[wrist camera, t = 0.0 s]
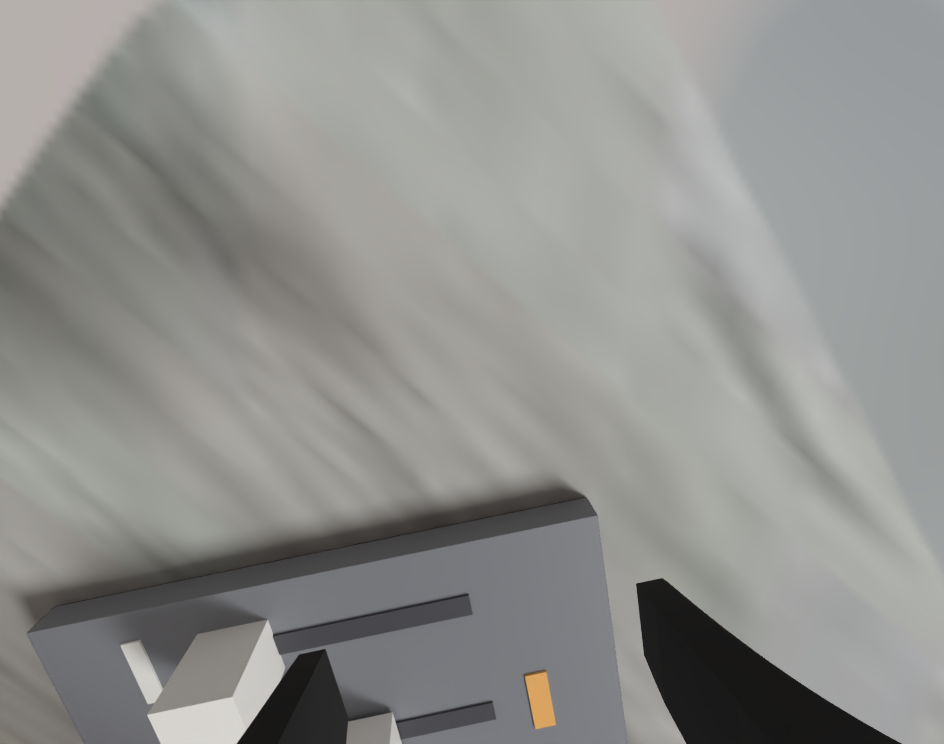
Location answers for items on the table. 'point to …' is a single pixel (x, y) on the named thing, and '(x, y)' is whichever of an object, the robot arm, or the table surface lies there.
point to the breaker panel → (362, 639)
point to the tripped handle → (373, 730)
